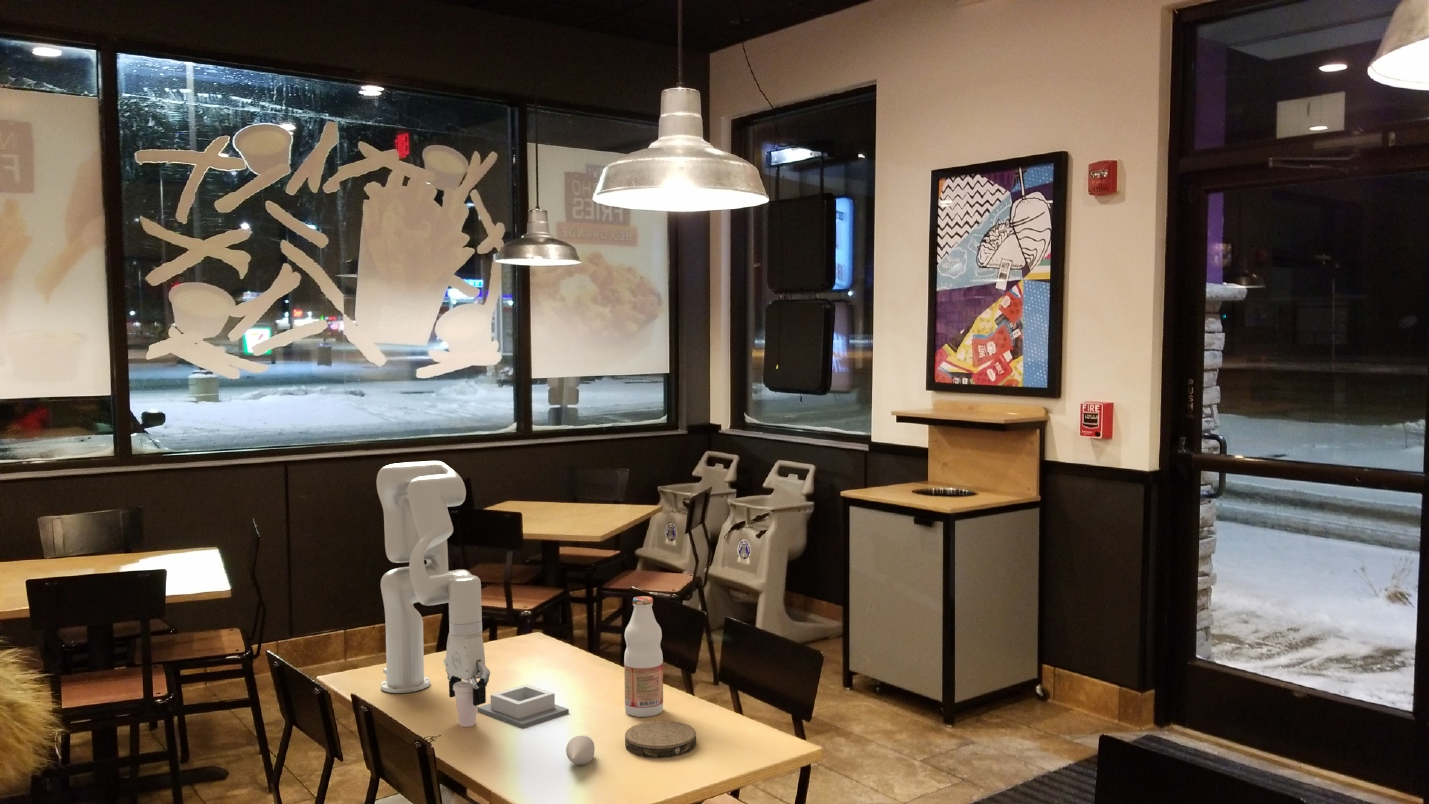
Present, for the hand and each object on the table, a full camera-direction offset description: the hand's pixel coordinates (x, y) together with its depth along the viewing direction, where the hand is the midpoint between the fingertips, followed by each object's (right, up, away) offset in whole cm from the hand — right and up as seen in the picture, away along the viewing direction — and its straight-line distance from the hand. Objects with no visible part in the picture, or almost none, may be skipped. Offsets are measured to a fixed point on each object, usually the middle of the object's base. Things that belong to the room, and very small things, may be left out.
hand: (467, 700), depth 254 cm
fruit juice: (+41, -5, +9) cm, 43 cm away
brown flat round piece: (+46, -7, -14) cm, 49 cm away
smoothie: (0, -6, +1) cm, 6 cm away
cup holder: (+12, -5, +9) cm, 16 cm away
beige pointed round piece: (+30, -7, -26) cm, 40 cm away
